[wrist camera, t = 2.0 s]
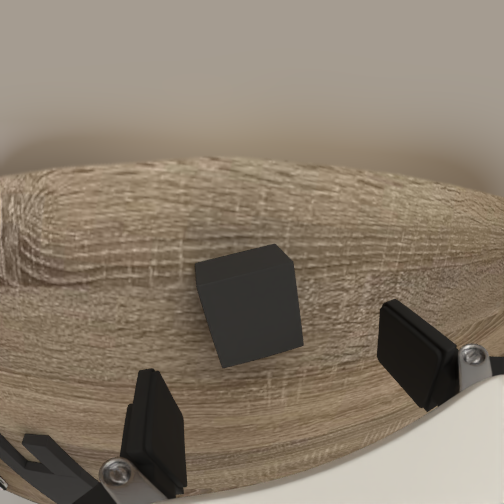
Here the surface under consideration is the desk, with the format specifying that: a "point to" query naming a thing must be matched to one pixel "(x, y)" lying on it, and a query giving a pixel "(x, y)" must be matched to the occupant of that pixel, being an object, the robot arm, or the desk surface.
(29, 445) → the big pad
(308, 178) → the desk surface
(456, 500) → the robot arm
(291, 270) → the small black box
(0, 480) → the remote control
